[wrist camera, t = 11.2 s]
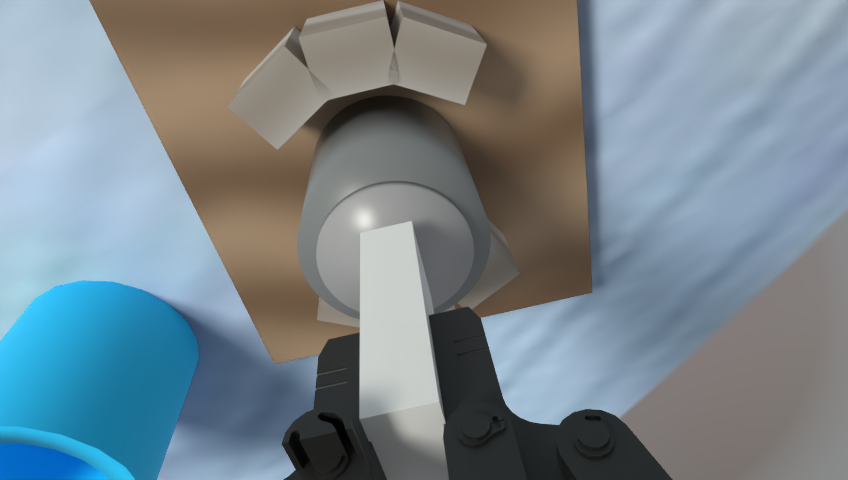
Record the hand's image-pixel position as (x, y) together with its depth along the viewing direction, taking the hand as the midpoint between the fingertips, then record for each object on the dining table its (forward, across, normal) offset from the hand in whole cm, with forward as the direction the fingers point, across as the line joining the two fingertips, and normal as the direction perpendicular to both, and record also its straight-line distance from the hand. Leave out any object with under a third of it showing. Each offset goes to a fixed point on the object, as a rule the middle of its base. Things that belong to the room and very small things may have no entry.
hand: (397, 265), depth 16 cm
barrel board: (+8, 0, 0) cm, 8 cm away
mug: (+9, -17, -8) cm, 21 cm away
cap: (+7, 0, 0) cm, 7 cm away
